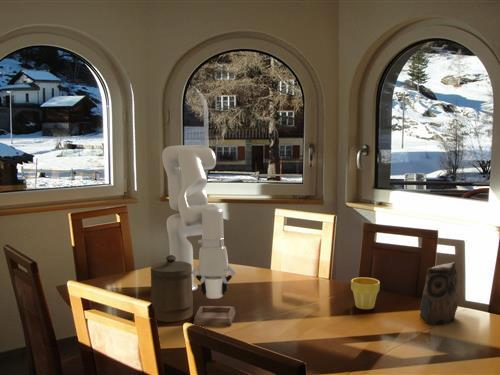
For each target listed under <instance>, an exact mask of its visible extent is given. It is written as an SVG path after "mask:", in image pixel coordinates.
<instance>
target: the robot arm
mask: <svg viewBox="0 0 500 375" xmlns="http://www.w3.org/2000/svg"><path fill="white" fill-rule="evenodd" d="M161 157H162V159H161V160H162V165H163V168H164V171H165V174H166V176H167V188H168V201H169V202H168V203H169V207H170V209H171V210H173V211H179V213H175V214H172V215H170V216H168V218H167V219H166V231H167V236H168V244H169V255H173V256H175V257H176V260H175V261H181V262H187V263H190V264H191V265H192V274H191V275H192V292H193V291H196V290H197V289H198V288H199V286H198V284H197V283H196V282H195V278H196V280H197V281H198V282H199V283H200V288H201V290H200V291H201V292H202V295H206V288H205V277H221V278H222V280H223V284H222V294H223V296H225V295H226V293H227V292H228V282H229V281H231V279H233V277H234V276H235V275H236V273H237V271H236V270H235V269H234V268H233V267H232V266H231V265H230V264H229V258H228V250H227V247H226V246H225V238H224V237H225V236H224V233H225V232H224V229H225V228H224V210H223V208H221V207H219V206H218V204H214V203H213V204H212V203H209V199H208V193H207V190H206V189H205V187H206V186H207V185H208V179H207V175H206V172H205V171H206V170H213V169H214V168H215V167H216V164H217V158H216V157H217V156H216V154H215V152H214V150H213V149H212V148H211V147H208V146H206V145H202V144H192V145H191V144H188V145H187V144H184V145H183V144H181V145H180V144H179V145H169V146H167V147H165V148H164V149H163V151H162V155H161ZM192 236H193V237H195V236H201V239H198V240H197V244H199V245H201V246H200V247H199V252H198V265H196V267H195V268H194V249H193V245H192V243H191V241H189V240H188V239H187V237H192ZM228 272H229V275H228Z"/></svg>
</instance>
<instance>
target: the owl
mask: <svg viewBox="0 0 500 375" xmlns="http://www.w3.org/2000/svg"><path fill="white" fill-rule="evenodd" d="M457 286H458V272H457V269H456V262H455V261H453V262H449V263H443V264H438V265H435V266H432V267H429V268H428V269H427V271H426V276H425V285H424V288H423V290H422V291H423V292H422V298H421V303H420V307H419V311H420V313H419V314H420V315H421V317H422V318H423V320H424V321H425V322H426V324H427V325H429V326H438V327H442V326H445V325H449V324H450V323H454V322H455V317H456V312H457V311H458V310H457V309H458V308H459V306H458V304H459V299H458V296H459V295H458V293H457Z"/></svg>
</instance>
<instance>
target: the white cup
mask: <svg viewBox="0 0 500 375" xmlns="http://www.w3.org/2000/svg"><path fill="white" fill-rule="evenodd" d="M222 284H223V280H222V278H221V277H205V288H206V294H205V295H206V298H207V299H213V300H214V299H221V298H222V297H224V295H223V294H222Z"/></svg>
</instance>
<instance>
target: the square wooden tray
mask: <svg viewBox="0 0 500 375" xmlns="http://www.w3.org/2000/svg"><path fill="white" fill-rule="evenodd" d="M235 315H236V310H235V306H226V305H225V306H221V305H219V306H217V305H215V306H213V305H212V306H211V305H210V306H209V305H200V306H199V308H198V310H197V312H196V314H195V316H194V318H193V322H192V325H193V324H197V325H196V326H202V325H205V326H207V327H208V326H209V327H210V326H211V327H212V326H215V327H223V326H224V327H232V324H233V320H234V318H235ZM205 326H204V327H205Z"/></svg>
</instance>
